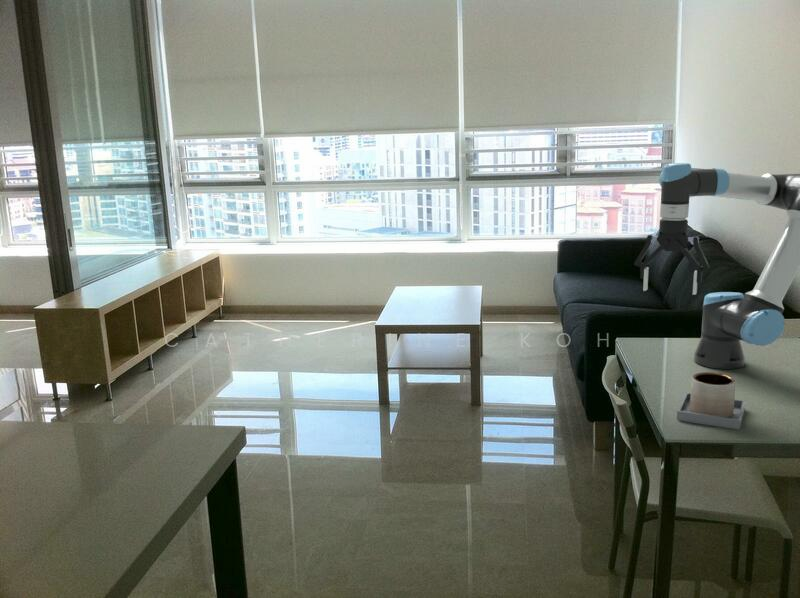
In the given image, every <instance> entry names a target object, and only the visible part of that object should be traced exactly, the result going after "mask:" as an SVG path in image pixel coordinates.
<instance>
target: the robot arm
mask: <svg viewBox="0 0 800 598" xmlns="http://www.w3.org/2000/svg"><path fill="white" fill-rule="evenodd" d="M658 183H659V186H660V188H661V191H660V192H661V194H660V210H659V211H660V212H659V217H660V220H659V228H658V235H654V234H652V233H650V234H648V235H646V237H647V238H646V242H645V244H644V246H643V248H642V249H641V251H640V252H639V254H638V256H637V257H636V259H635V261H634V263H633V265H634V266H636V267H639V270H640V272H639V275H640V276H639V277H640V279H641V280H643V285H642V287H643V288H642V290H643V292H646V291H647V290H648V288H649V287H648V284H649V269H650V267H648V265H649V264H650V263H651V262H652V261H653V260H654V259H655V258H656V257H657V255H658V254H660V253H661V251H665V252H674V253H678V252H680V253H681V254H682V255H684V257H685V258H686V259H687V260H688V262H689V263H690V264H691V266H692V267H693V268H694V269H695V270H694V272H693V281H692V282H693V284H692V296H693V295H694V296H695V295H697V293H698V284H700V283H702V279H703V272H704V271H708V270H709V269H710V264H709V262H708V260H707V257H706V256H705V253H704V251H703V249H702V247H701V245H700V237H699V236H698V235H696V236H688V228H689V226H688V224H689V221H688V219H687V218H688V217H689V210H690V209H689V208H690V198H692V197H703V196H704V197H707V196H709V197H717V198H718V197H719V198H727V199H734V200H746V201H753V202H756V203H757V204H759V205H762V206H769V207H773V208H777V209H779V210H780V209H781V210H784V211H786V214H787V217H788V220H787V222H786V224H785V225H784V228H783V230H782V232H781V234H780V236H779V237H778V240H777V242H776V243H775V246H774V247H773V250H772V252H771V254H770V255H769V258H768V260H767V262H766V263H765V266H764V267H763V269H762V271H761V274H760V276H759V277H758V279H757V281H756V284H755V285H754V287H753V289H752V290H750V291H747V292H745V293H742V292H733V291H719V292H718V291H717V292H709V293H707V294H706V295H705V296H704V299H703V304H702V321H701V336H700V340H699V342H698V344H697V347H696V349H695V351H694V354H693V355H694V356H693V360H694V362H695V363H696V364H697V365H700V366H703V367H706V368H711V369H719V370H733V369H740V368H742V367H744V366H745V359H746V358H745V357H746V356H745V354H744V349H743V346H742V343H741V341H743V342H745V343H746V344H750V345H754V346H759V347H764V346H767V345H771V344H773V343H774V342H776V341H777V340H778V339H779V338H780V337H781V335H782V334H783V332H784V329H785V326H786V324H785V317H784V315H783V313H784V310H785V307H784V305H783V300H784V298H785V296H786V294H787V292H788V290H789V288H791V287H790V286H791V285H792V283H793V281H794V278H795V276H796V274H797V273H798V271H799V270H800V269H799V268H800V173H784V174H774V173H773V174H771V173H764V174H762V175H752V174H751V175H750V174H742V173H734V172H727V171H726V170H725V169H723V168H700V167H699V168H698V167H696V168H695V167H692V165H691V163H687V162H677V163H676V162H674V163H673V162H669V163H666V164H664V166H663V167H662V171H661V173H660V175H659V181H658ZM655 241H657V243H658V244H659V246H658V247H657V248H656V249H655V250H654V251H653V252H652V253H651V254H650V255H649V256H648V257H647V258H646V259H645V260H644V261H643V262H642V260H643V259H644V257H645V255H646V254H647V252H648V250H649V249H650V246H651V245H652V244H653V243H655ZM688 242H689V243H690V244H691V245H693V248H694V250H695V252H696V255H697V256H698V259H699V261H700V263H701V264H700V263H699V261H698V260H697V259H696V258H695V256H694V255H693V254H692V252H691V251H690V250H689V248H688V247H687V246H686V244H687V243H688Z"/></svg>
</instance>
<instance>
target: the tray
mask: <svg viewBox="0 0 800 598" xmlns="http://www.w3.org/2000/svg"><path fill="white" fill-rule="evenodd" d="M690 398H691V392H685V394H684V396H683V398H682V399H681V402H680V404H679V407H678V408H677V411H676V420H677V421H682V422H687V423H688V422H689V423H693V424H694V423H695V424H701V425H708V426H713V427H714V426H715V427H719V428H726V429H733V430H739V431H740V429H741V426H742V420H743V417H744V413H745V406H746V400H742V399H737V398H735V399H734V412H733V415H732V416H730V417H728V418H726V417H719V416H713V415H706V414H699V413H693V412H692V411H691V410H690Z"/></svg>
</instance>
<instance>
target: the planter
mask: <svg viewBox="0 0 800 598" xmlns="http://www.w3.org/2000/svg"><path fill="white" fill-rule="evenodd" d="M736 383H737V382H736V379H735V378H734V377H733V376H731V375H727V374H723V373H720V372H712V371H711V372H710V371H709V372H708V371H706V372H703V371H702V372H698V373H694V374H693V375H692V376H691V388H690V393H691V398H690V410H691V411H692V412H693V413H699V414H706V415H713V416H719V417H726V418H728V417H730V416H732V415H733V412H734V399H736V398H735V397H736V396H735V395H736Z"/></svg>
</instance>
